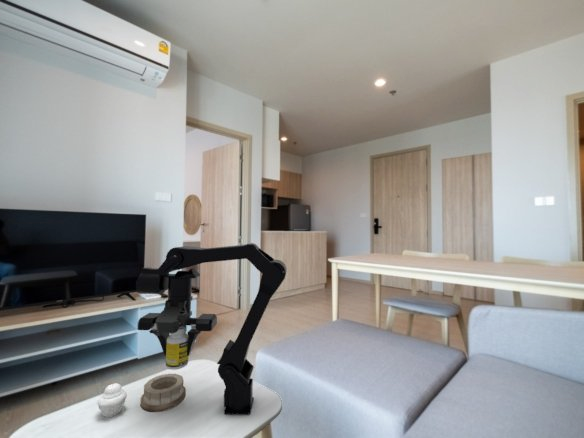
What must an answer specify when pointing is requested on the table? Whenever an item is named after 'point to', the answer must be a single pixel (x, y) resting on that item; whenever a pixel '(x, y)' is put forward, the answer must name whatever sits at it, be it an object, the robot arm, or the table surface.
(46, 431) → the table surface
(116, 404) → the muffin
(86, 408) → the table surface
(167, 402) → the stone fire pit
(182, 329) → the supplement bottle
